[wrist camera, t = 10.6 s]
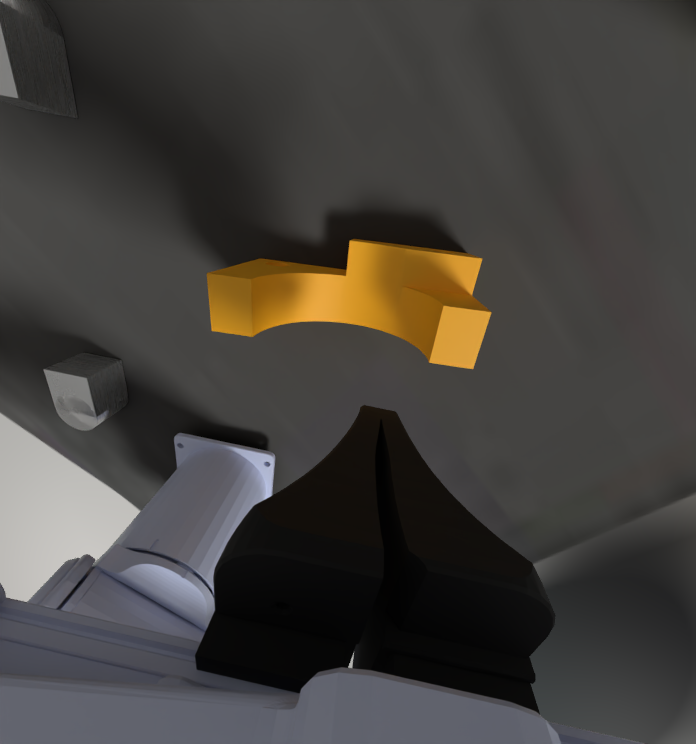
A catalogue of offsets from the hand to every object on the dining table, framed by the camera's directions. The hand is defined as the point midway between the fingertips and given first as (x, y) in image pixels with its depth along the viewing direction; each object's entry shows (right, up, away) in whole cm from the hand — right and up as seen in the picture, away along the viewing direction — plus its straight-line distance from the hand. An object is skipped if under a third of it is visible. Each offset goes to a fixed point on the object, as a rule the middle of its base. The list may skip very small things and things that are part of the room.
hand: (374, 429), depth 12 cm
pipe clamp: (0, +8, +7) cm, 11 cm away
